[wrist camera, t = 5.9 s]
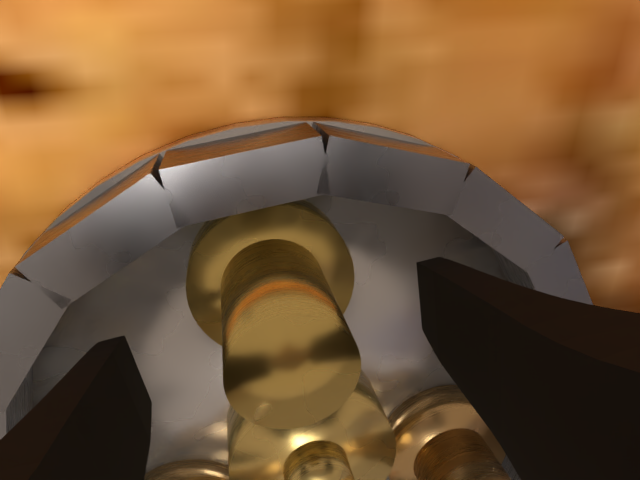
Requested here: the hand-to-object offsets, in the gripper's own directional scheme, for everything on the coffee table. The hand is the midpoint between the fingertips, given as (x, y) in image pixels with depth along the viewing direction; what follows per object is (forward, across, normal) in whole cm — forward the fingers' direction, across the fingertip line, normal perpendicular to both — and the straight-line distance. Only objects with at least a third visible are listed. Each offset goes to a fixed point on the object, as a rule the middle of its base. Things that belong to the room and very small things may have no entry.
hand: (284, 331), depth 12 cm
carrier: (+4, 0, +6) cm, 7 cm away
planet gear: (+3, 0, 0) cm, 3 cm away
